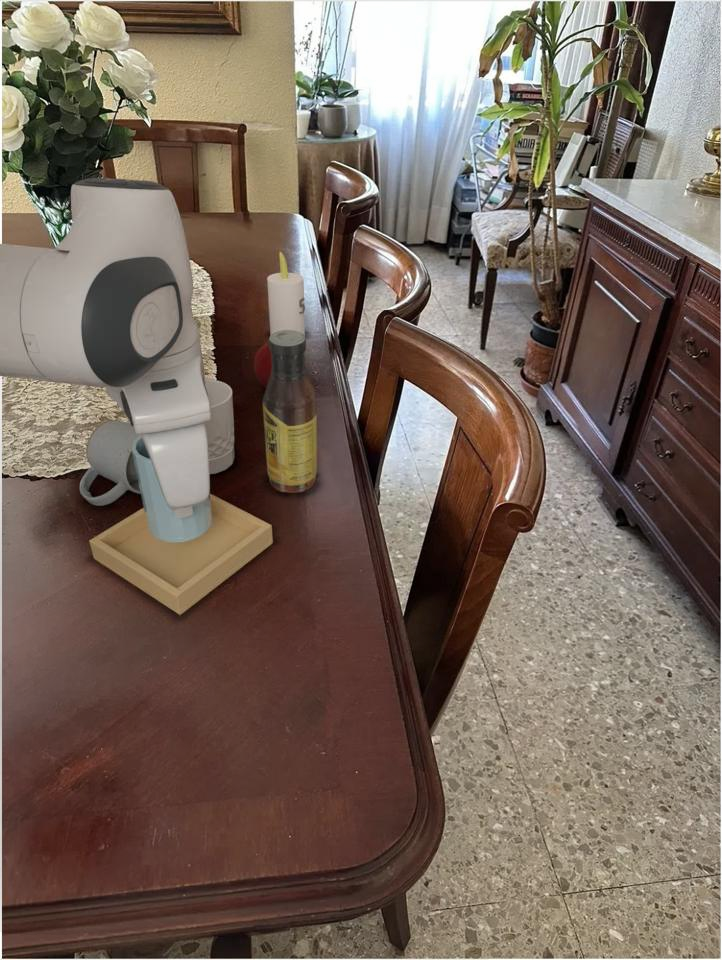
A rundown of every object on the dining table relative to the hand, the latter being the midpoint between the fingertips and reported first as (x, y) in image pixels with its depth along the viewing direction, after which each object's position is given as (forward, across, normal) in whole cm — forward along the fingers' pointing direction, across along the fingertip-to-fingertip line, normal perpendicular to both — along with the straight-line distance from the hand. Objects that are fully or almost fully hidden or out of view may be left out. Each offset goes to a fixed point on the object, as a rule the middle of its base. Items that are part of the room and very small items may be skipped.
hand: (175, 491), depth 68 cm
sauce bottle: (+8, -8, +15) cm, 19 cm away
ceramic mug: (+8, -15, -4) cm, 18 cm away
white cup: (+8, -16, +7) cm, 20 cm away
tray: (+8, 0, 0) cm, 8 cm away
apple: (+8, -32, +22) cm, 40 cm away
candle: (+8, -52, +30) cm, 61 cm away
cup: (+4, 0, 0) cm, 4 cm away
